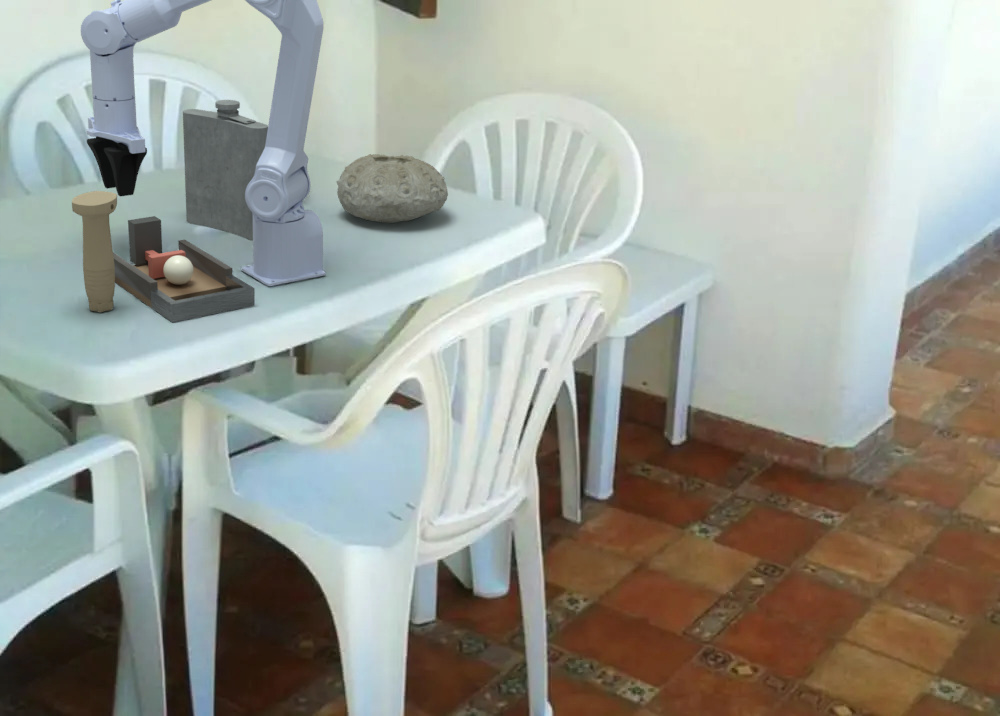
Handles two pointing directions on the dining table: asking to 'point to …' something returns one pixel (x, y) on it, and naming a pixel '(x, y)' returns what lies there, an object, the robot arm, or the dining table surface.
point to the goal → (205, 301)
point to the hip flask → (221, 166)
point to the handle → (97, 247)
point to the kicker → (148, 245)
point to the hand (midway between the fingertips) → (119, 191)
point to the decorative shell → (391, 188)
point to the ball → (178, 270)
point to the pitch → (203, 282)
